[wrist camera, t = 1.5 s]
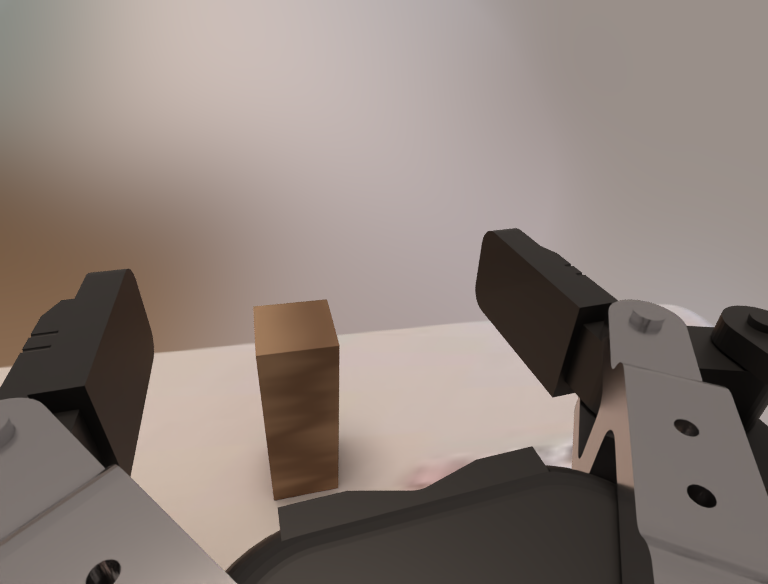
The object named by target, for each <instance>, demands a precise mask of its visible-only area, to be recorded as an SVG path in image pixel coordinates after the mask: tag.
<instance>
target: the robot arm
mask: <svg viewBox="0 0 768 584" xmlns="http://www.w3.org/2000/svg"><path fill="white" fill-rule="evenodd" d="M475 288H476V289H475V291H476V299H477V302H478V305H479V307H480V309H481V310H482V311H483V313H484V314H485V315H486V316H487V318H488V319H489V320H490V321H491V323H492V324H493V325H494V326H495V327H496V329H497V330H498V331H499V332H500V334H501V335H502V336H503V337H504V338H505V340H506V341H507V342H508V343H509V345H510V346H511V347H512V348H513V349H514V351H515V352H516V353H517V354H518V356H519V357H520V358H521V359H522V360H523V362H524V363H525V364H526V365H527V367H528V368H529V369H530V370H531V371H532V373H533V374H534V375H535V376H536V378H537V379H538V380H539V381H540V383H541V384H542V385H543V386H544V387H545V389H546V390H547V391H548V392H549V394H550V395H551V396H552V397H557V396H562V395H566V394H571V393H576V394H577V395H578V400H577V402H576V405H575V410H574V430H573V452H572V469H570V468H565V467H557V466H548V465H545V464H544V463H543V461H542V460H541V458H540V457H539V455H538V454H537V453H536V451H535V450H534V448H533V447H528V448H523V449H519V450H515V451H511V452H507V453H503V454H498V455H494V456H490V457H486V458H482V459H478V460H475V461H473V462H471V463H470V464H468V465H466V466H464V467H462V468H461V469H459V470H457V471H455V472H453V473H452V474H450V475H448V476H446V477H444V478H442V479H441V480H439V481H437V482H435V483H433V484H432V485H430V486H428V487H426V488H424V489H421V490H414V491H345V492H341V493H336V494H332V495H328V496H324V497H320V498H316V499H312V500H307V501H303V502H299V503H295V504H291V505H287V506H282V507H278V514H279V523H280V530H279V531H278V532H276V533H274V534H272V535H270V536H268V537H267V538H265V539H264V540H262V541H261V542H259V543H258V544H256V545H255V546H253V547H252V548H250V549H249V550H248V551H247V552H245V553H244V554H243V555H242V556H241V557H240V558H238V559H237V560H236V561H235V562H234V563H233V564H232V565H231V566H230V567H229V568H228V569H227V570H226V571H224V570H223V569H222V568H221V567H220V566H219V565H218V564H217V563H216V562H215V561H214V560H213V559H212V558H211V557H210V556H209V555H208V554H207V553H206V552H205V551H204V550H203V549H202V548H201V547H200V546H199V545H198V544H197V543H196V542H195V541H194V540H193V539H192V538H191V537H190V536H189V535H188V534H187V533H186V532H185V531H184V530H183V529H182V528H181V527H180V526H179V525H178V524H177V523H176V522H175V521H174V520H173V519H172V518H171V517H170V516H169V515H168V514H167V513H166V512H165V511H164V510H163V509H162V508H161V507H160V506H159V505H158V504H157V503H156V502H155V501H154V500H153V499H152V498H151V497H150V496H149V495H148V494H147V493H146V492H145V491H144V490H143V489H142V488H141V487H140V486H139V485H138V484H137V483H136V482H135V481H134V480H133V479H132V478H131V477H130V476H131V471H132V465H133V460H134V455H135V450H136V445H137V440H138V435H139V430H140V425H141V420H142V414H143V409H144V404H145V399H146V394H147V389H148V384H149V379H150V374H151V369H152V363H153V358H154V344H153V336H152V332H151V328H150V325H149V321H148V318H147V315H146V312H145V308H144V305H143V302H142V299H141V296H140V292H139V289H138V285H137V282H136V279H135V277H134V274H133V273H132V271H131V270H130V269H122V270H113V271H103V272H93V273H88V274H87V275H86V277H85V279H84V281H83V283H82V285H81V287H80V289H79V291H78V293H77V295H76V297H75V299H69V300H61V301H60V302H59V303H58V304H56V305H55V306H54V307H53V308H51V309H50V310H49V311H47V312H46V313H45V314H44V315H42V316H41V317H40V319H39V321H38V323H37V325H36V326H35V328H34V330H33V331H32V333H31V338H28V340H27V342H26V344H25V345H24V347H23V349H22V350H23V353H20V354H19V356H18V358H17V359H16V361H15V363H14V365H13V366H12V368H11V370H10V372H9V373H8V375H7V377H6V379H5V380H4V382H3V384H2V386H1V387H0V584H768V426H767V425H766V424H765V423H763V422H762V421H761V420H760V419H759V418H760V416H761V415H762V413H763V412H764V410H765V408H766V407H767V405H768V311H767V310H763V309H759V308H755V307H748V306H731V307H728V308H725V309H724V310H723V312H722V313H721V315H720V317H719V320H718V321H717V323H716V326H715V327H697V326H686V324H685V323H684V322H683V320H682V319H681V318H680V317H679V316H677V315H676V314H675V313H673V312H671V311H670V310H668V309H666V308H664V307H661V306H659V305H656V304H652V303H650V302H645V301H640V300H620V301H618V300H616V299H615V298H614V297H613V296H611V295H610V294H609V293H608V292H606V291H605V290H604V289H602V288H601V287H600V286H598V285H597V284H596V283H595V282H593V281H592V280H591V279H590V278H588V277H587V276H586V275H582V272H580V271H579V270H578V269H577V268H575V267H574V266H571V264H570V263H569V262H567V261H566V260H565V259H564V258H562V257H561V256H560V255H559V254H557V253H555V252H553V251H551V250H548V249H546V248H543V247H541V246H540V245H538V244H537V243H536V242H535V241H534V240H532V239H531V238H530V237H529V236H527V235H526V234H525V233H523V232H522V231H521V230H519V229H517V228H514V229H504V230H496V231H488V232H487V233H486V234H485V235H484V237H483V242H482V247H481V254H480V260H479V267H478V273H477V280H476V287H475Z"/></svg>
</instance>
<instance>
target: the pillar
mask: <svg viewBox="0 0 768 584" xmlns="http://www.w3.org/2000/svg"><path fill="white" fill-rule="evenodd" d="M254 328H255V349H256V361H257V369H258V377H259V385H260V392H261V400H262V408H263V416H264V424H265V432H266V440H267V447H268V455H269V463H270V471H271V479H272V487H273V495H274V500H279V499H284V498H289V497H294V496H299V495H304V494H309V493H314V492H320V491H325V490H330V489H335V488H338V445H339V342H338V339H337V335H336V332H335V328H334V324H333V320H332V317H331V313H330V309H329V305H328V302H327V300H316V301H306V302H296V303H286V304H277V305H266V306H255V307H254Z"/></svg>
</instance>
